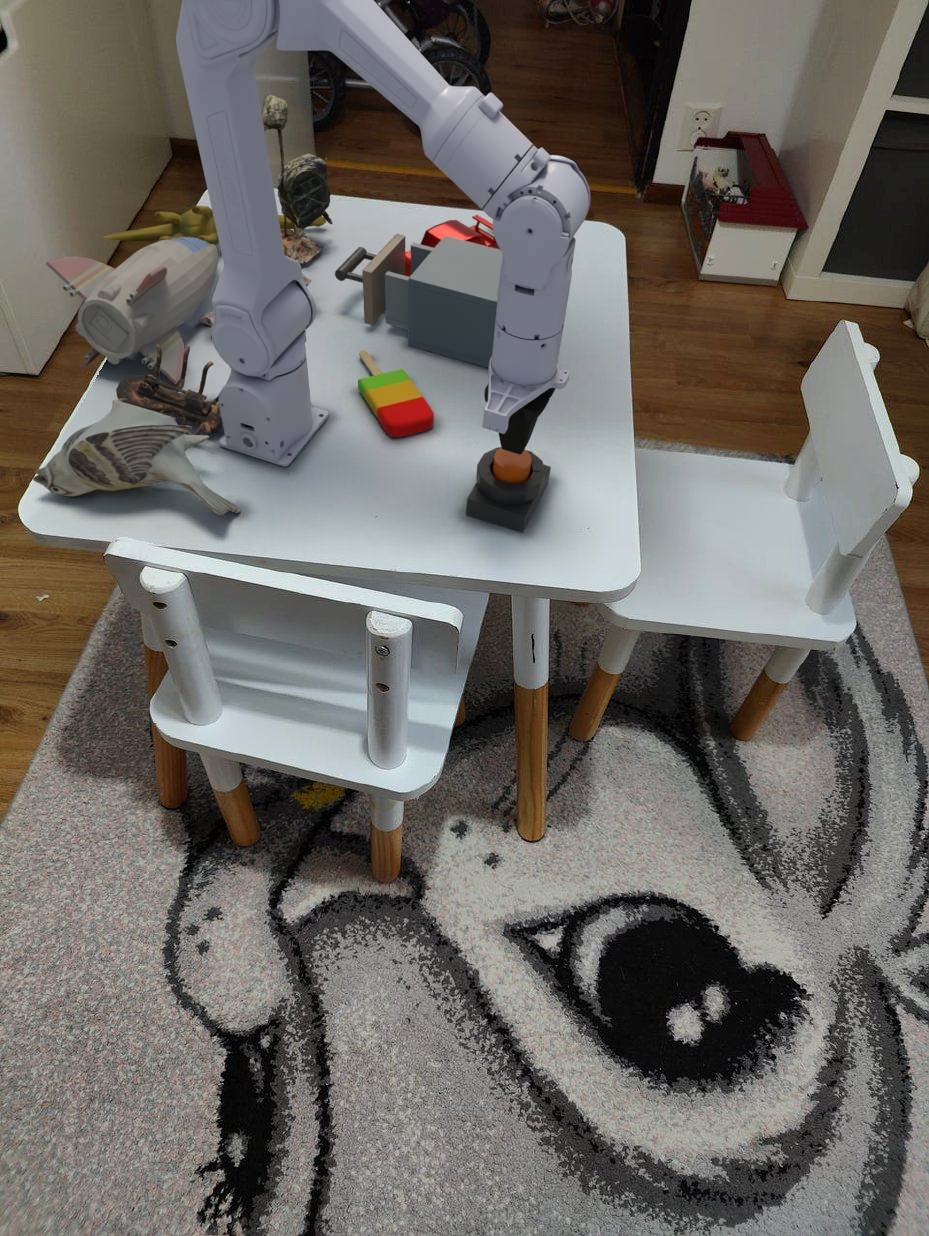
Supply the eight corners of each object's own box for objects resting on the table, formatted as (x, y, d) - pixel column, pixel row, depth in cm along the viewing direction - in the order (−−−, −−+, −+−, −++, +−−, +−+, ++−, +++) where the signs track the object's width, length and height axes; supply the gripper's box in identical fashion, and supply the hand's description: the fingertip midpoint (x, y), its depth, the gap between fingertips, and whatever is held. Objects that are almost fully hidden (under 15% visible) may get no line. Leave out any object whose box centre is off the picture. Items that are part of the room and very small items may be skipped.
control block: (525, 534, 87) (529, 504, 84) (463, 514, 88) (465, 484, 85) (550, 483, 91) (555, 453, 88) (491, 465, 93) (494, 434, 90)
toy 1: (291, 191, 107) (324, 200, 120) (51, 218, 112) (107, 224, 125) (297, 235, 109) (329, 239, 122) (61, 260, 114) (115, 262, 126)
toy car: (475, 243, 121) (477, 207, 117) (503, 260, 119) (507, 224, 115) (395, 276, 115) (395, 239, 111) (423, 295, 112) (424, 258, 109)
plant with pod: (349, 258, 117) (341, 92, 101) (266, 275, 113) (244, 105, 98) (326, 229, 121) (314, 66, 106) (245, 245, 117) (221, 78, 102)
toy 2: (249, 364, 95) (248, 399, 99) (142, 328, 94) (145, 365, 98) (205, 439, 87) (205, 474, 91) (87, 401, 87) (93, 438, 91)
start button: (522, 488, 85) (524, 474, 84) (487, 477, 86) (488, 463, 85) (534, 465, 88) (536, 451, 86) (500, 455, 88) (501, 441, 87)
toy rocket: (187, 280, 116) (165, 184, 108) (270, 292, 113) (254, 193, 105) (75, 373, 99) (38, 267, 91) (170, 388, 97) (141, 281, 88)
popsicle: (390, 441, 94) (390, 427, 93) (339, 363, 103) (339, 349, 101) (437, 429, 96) (438, 415, 95) (384, 353, 104) (384, 339, 103)
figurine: (32, 376, 81) (10, 484, 82) (222, 417, 78) (198, 529, 78) (88, 398, 90) (68, 495, 90) (262, 435, 86) (240, 536, 87)
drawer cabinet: (408, 345, 105) (408, 278, 99) (442, 301, 112) (444, 235, 105) (499, 371, 103) (506, 304, 96) (529, 324, 110) (537, 258, 103)
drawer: (330, 313, 107) (326, 260, 102) (364, 276, 113) (362, 224, 108) (445, 346, 104) (447, 292, 99) (474, 306, 110) (478, 253, 105)
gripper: (547, 380, 69) (528, 508, 79) (600, 290, 78) (576, 415, 88) (463, 357, 70) (455, 485, 81) (524, 270, 79) (509, 396, 90)
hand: (513, 447), depth 85 cm, fingers closed
